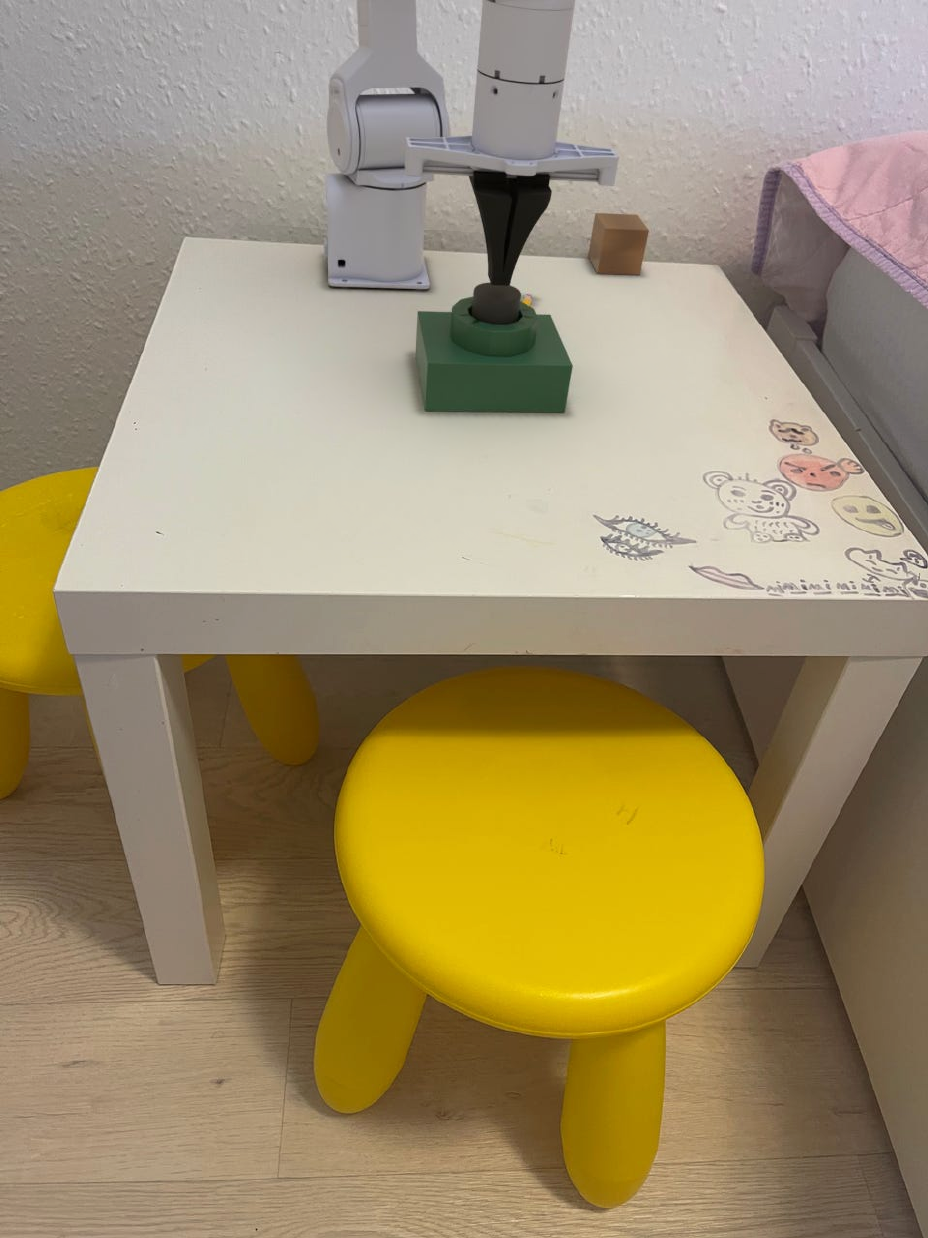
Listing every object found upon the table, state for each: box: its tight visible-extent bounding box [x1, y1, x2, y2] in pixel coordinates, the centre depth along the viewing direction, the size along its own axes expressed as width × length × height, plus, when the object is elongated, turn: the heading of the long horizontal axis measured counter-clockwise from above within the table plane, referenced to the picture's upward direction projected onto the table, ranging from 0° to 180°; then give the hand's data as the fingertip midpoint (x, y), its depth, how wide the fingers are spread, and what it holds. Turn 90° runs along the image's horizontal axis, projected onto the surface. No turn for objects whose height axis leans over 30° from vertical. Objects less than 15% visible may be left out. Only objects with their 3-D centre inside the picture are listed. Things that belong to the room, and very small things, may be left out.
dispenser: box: [414, 296, 573, 414], centre depth 72 cm, size 11×9×6 cm
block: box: [587, 212, 650, 276], centre depth 94 cm, size 4×4×4 cm
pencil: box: [522, 293, 533, 307], centre depth 85 cm, size 1×9×1 cm, turn 168°
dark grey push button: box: [472, 281, 522, 325], centre depth 70 cm, size 4×4×2 cm
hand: (498, 280), depth 69 cm, fingers closed
